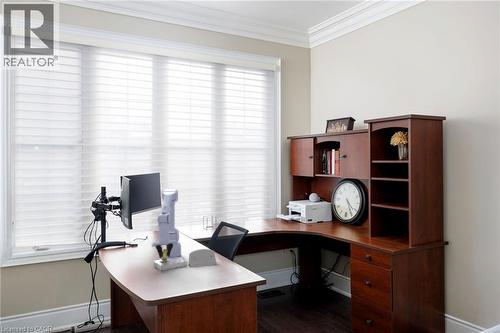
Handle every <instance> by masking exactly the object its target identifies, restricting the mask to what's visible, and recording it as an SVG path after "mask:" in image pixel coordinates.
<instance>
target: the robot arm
mask: <svg viewBox="0 0 500 333" xmlns="http://www.w3.org/2000/svg"><path fill="white" fill-rule="evenodd" d="M161 198H162V200H163V205H162V206H161V208H160V212H159V214H158V215H157V226H158V235H159V236H158V239H159V240H158V241H156V242H151V247H152V248H155V249H156V251H157V254H158V257H159V259H161V258H162V249H163V247H162V246H165V249H168V252H167V259H168V258H174V257H182V245H181V242H180V231H179V229H178V228H176V227H175V226H176V223H175V222H176V221H175V216H176V215H175V211H176V210H175V209H176V208H175V207H176V206H175V205H176V203H177V202H178V201H179V190H178V189H162V191H161Z"/></svg>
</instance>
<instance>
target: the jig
mask: <svg viewBox="0 0 500 333" xmlns="http://www.w3.org/2000/svg"><path fill="white" fill-rule="evenodd" d="M187 263H188V261H187V260H186V259H184V258H182V257H181V256H177V257H171V258H167V260H166V261H162V260H161V259H157V260H153V267H155V268H156V269H157V270H158V271H159V272H162V270H163V271H167V270H174V269H178V268H185V267H188V264H187Z"/></svg>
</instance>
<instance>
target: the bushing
mask: <svg viewBox="0 0 500 333" xmlns="http://www.w3.org/2000/svg"><path fill="white" fill-rule="evenodd" d="M167 252H168V249H166V248H162V258H160V260H162V261H166V260H167V259H168V258H167Z"/></svg>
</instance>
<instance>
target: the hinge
mask: <svg viewBox="0 0 500 333" xmlns="http://www.w3.org/2000/svg"><path fill="white" fill-rule="evenodd" d="M217 264H218V262H217V258H216V253H215V250H212V249H208V248H200V249H196V250H193V251H191V252H189V254H188V266H189V268H193V267H194V268H195V267H205V266H213V265H217Z"/></svg>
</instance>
